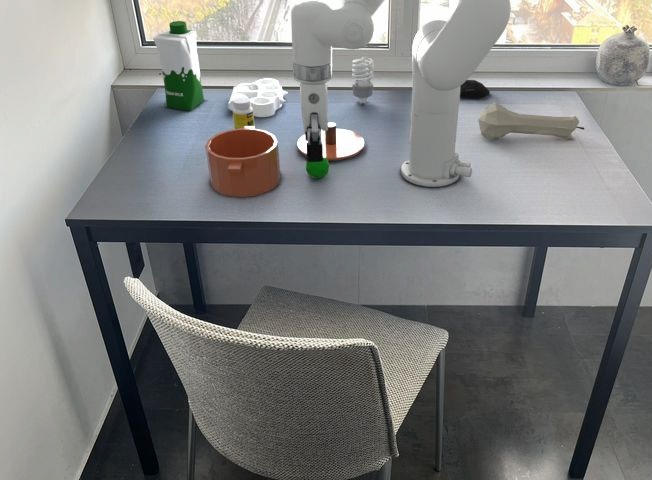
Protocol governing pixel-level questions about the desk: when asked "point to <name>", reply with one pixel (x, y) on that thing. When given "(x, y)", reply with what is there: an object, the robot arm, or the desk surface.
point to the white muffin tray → (260, 96)
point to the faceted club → (523, 123)
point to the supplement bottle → (242, 113)
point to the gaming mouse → (473, 90)
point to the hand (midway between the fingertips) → (313, 150)
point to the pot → (243, 162)
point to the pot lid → (336, 143)
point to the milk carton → (180, 66)
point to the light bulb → (363, 86)
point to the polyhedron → (317, 168)
